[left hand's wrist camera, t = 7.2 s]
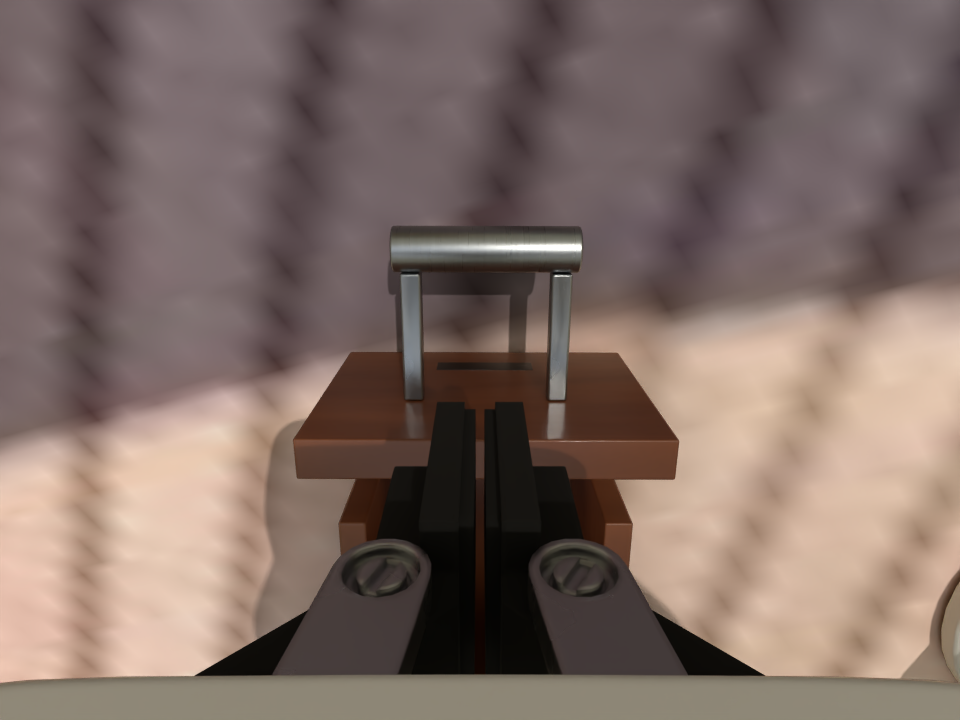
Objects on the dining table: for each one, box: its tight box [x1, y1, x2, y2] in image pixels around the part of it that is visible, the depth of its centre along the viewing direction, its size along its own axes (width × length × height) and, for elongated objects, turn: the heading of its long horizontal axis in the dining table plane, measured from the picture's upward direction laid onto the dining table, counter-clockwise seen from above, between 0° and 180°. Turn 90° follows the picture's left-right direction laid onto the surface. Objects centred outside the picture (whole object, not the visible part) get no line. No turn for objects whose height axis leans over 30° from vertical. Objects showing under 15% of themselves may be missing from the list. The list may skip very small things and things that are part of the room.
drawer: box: [293, 226, 679, 675], centre depth 23 cm, size 25×10×8 cm, turn 0°
